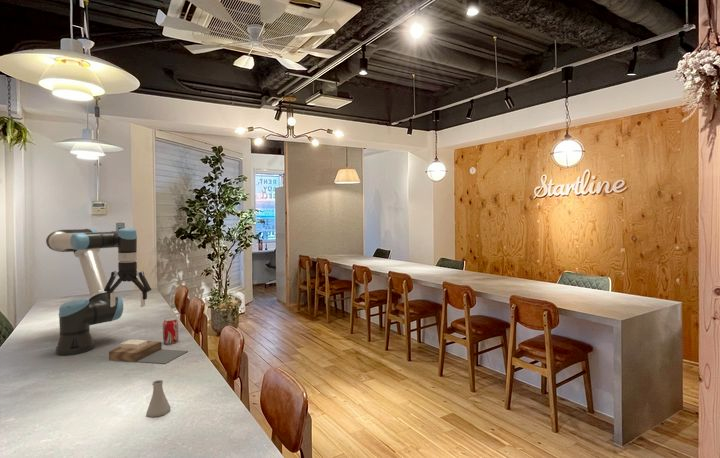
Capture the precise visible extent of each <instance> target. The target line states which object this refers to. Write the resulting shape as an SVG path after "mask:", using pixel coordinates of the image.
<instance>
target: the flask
mask: <svg viewBox="0 0 720 458" xmlns="http://www.w3.org/2000/svg"><path fill="white" fill-rule="evenodd" d="M151 383H152V384H151V385H152V386H153V387H152V388H153V390H152V395H151V399H150V402H149V404H148V407H147V411H146V414H145V415H146V417H150V418H151V417H153V418H156V417H161V416H165V415H166V414H168V413H170V411H171V405H170V403H169V401H168V399H167V397H166V394H165V392H164V388H163V383H164V380H163V379H157V380H153V381H152V382H151Z"/></svg>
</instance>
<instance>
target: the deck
mask: <svg viewBox="0 0 720 458" xmlns="http://www.w3.org/2000/svg"><path fill="white" fill-rule="evenodd" d="M161 349H162V341H155V340H147V345H146V346H143V347H141V348H139V349H131V348H121V346H119V347H116V348H113V349H111V350H108V360H109V361H116V362H130V363H138V362H137V361H138V360H140V359H142V358H145V357H147V356H149V355H151V354H153V353H155V352H157V351H159V350H161Z"/></svg>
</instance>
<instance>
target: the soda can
mask: <svg viewBox="0 0 720 458" xmlns="http://www.w3.org/2000/svg"><path fill="white" fill-rule="evenodd" d="M162 339H163V340H162V341H163V343H164V344H165V345H172V344H173V345H174V344H176V343H177V342H179V321H178V319H177V317H167V318H164V320H163V322H162Z"/></svg>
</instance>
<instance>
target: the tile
mask: <svg viewBox="0 0 720 458" xmlns="http://www.w3.org/2000/svg"><path fill="white" fill-rule="evenodd" d="M147 341H148V340H145V339H128V340H126V341H122V342H120V343H119V344H120V346H121V348H131V349H139V348H141V347H143V346H146V345H147ZM120 346H119V347H120Z"/></svg>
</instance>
